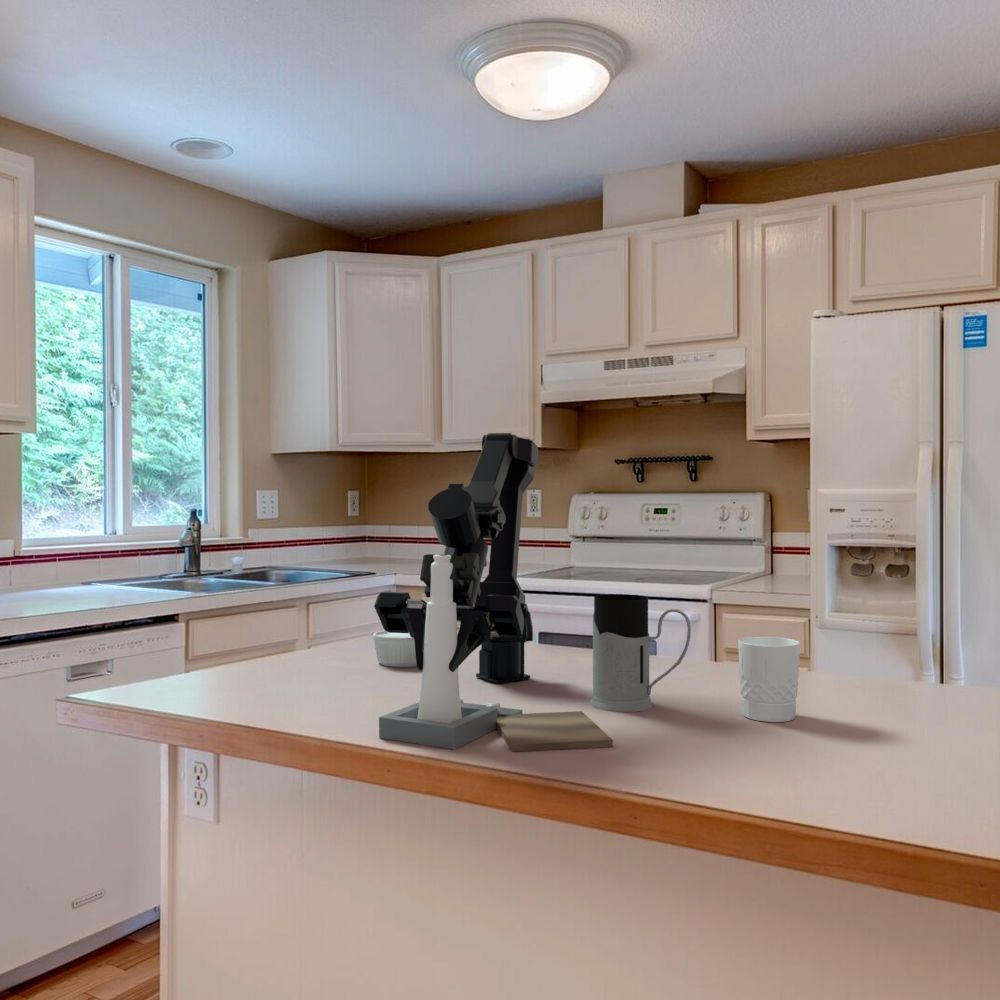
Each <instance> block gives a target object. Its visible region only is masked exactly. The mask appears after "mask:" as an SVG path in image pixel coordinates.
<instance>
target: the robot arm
mask: <svg viewBox="0 0 1000 1000" xmlns="http://www.w3.org/2000/svg"><path fill="white" fill-rule="evenodd" d="M481 439H482V440H481V451H480V453H479V456H478V459H477V461H476V465H475V467H474V470H473V473H472V475H471V478H470V481H469V483H468V485H467V486H465V485H464V483H448V487H447V489H444V490H441V491H439V492H438V493H436V494H435V495H434V496H433V497H432V498H431V499H430V500H429V501H428V505H427V508H428V511H429V515H430V518H431V521H432V524H433V528H434V530H435V533H436V537H437V539H438V542H439V544H440V545H442V546H444V547H445V548H444V552H443V554H445V555H443V554H442V553H441V554H435V553H432V554H431V553H427V554H423V555H422V563H421V569H420V575H419V576H420V577H419V581H421V582H423V583H424V584H425V588H424V594H425V597H426V598H430V592H431V564H432V563H433V562H434V559H433V555H440V556H446V555H451V559H450V563H452V564H453V569H452V573H451V576H450V578H449V579H452V580H453V602H455V603H456V614H457V623H460V624H459V630H458V631H457V646H456V650H455V653H454V655H453V658H452V660H451V661H450V663H449V670H450V671H452V672H454V671H455V670H456V669H457V668H458V669H459V667H460V666H461V664H462V663H463V662H465V660H466V659H467V658H468V657H469V656H470V655H471V654H472V653H473V652H474V651H475V650H477V648H479V647H480V646H481V647H480V648H481V649H479V651H478V653H479V654H478V656H479V657H478V662H479V666H478V672H477V673H475V677H476V678H479V679H483V680H486V681H489V682H492V683H496V684H503V683H509V682H517V681H520V680H521V681H523V680H529V679H531V675H530V674H527V673H525V643H527V642H532V641H534V627H533V622H532V615H531V612H530V610H529V608H528V604H527V603H526V595H525V594H524V591H523V589H522V587H521V585H520V584H519V582H518V579H517V578H518V565H519V563H518V562H519V550H520V540H521V539H520V535H521V524H522V523H521V521H522V509H523V508H522V507H523V496H524V492H525V491H526V490H527V488H529V486H530V484H531V483H532V482H533V480H534V478H535V467H538V463H539V449H538V446H537V444H536V443H535V442H534V441H533V440H531V438H523V437H519V436H517V435H516V434H513V433H512V432H494V433H493V432H492V433H490V432H489V433H487V434H484V435H483V436H482V438H481ZM486 540H491V541H490V553H489V562H488V561H487V556H488V552H489V545H488V543H487V541H486ZM488 563H489V564H488ZM487 564H488V565H489V566H488V574H487V576H486V577H485V579H484V580H483V581H482V576H483V573H484V569H485V568H484V567H487ZM427 603H428V602H427V601H425V599H422V598H421V599H419V598H412V597H411V595H410V593H409V591H408V592H407V591H382V592H380V593H379V594H378V595H377V596H376V600H375V602H374V606H373V607H374V609H375V612H376V614H377V616H378V619H379V621H380V623H381V625H382V628H383V631H387V632H389V633H409V634H410V636H411V637H412V638H414V642H415V653H416V664H417V666H416V667H417V670H418V671H423V655H424V638H425V623H426V609H427Z"/></svg>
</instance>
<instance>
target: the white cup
mask: <svg viewBox="0 0 1000 1000" xmlns="http://www.w3.org/2000/svg"><path fill="white" fill-rule="evenodd" d="M737 642H738V643H737V645H738V646H737V647H738V648H737V649H738V666H739V667H738V668H739V669H738V671H739V686H740V696H741V703H742V704H741V705H742V706H741V708H742V712H741V713H742V715H743V717H745V718H747V719H750V720H753V721H758V722H764V723H765V722H767V723H785V722H791V721H793V720H794V719H795V718H796V714H797V712H796V711H797V697H798V690H799V688H798V686H799V676H800V674H799V673H800V656H801V655H800V653H801V642H800V641H799V640H796V639H792V638H787V637H779V636H778V637H776V636H763V635H762V636H747V637H741V638H739V639H738V640H737Z"/></svg>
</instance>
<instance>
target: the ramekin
mask: <svg viewBox="0 0 1000 1000" xmlns="http://www.w3.org/2000/svg"><path fill="white" fill-rule="evenodd" d="M372 636H373V637H372V638H373V639H372V640H373V641H374V646H375V647H374V648H375V653H376V654H375V655H376V658H377V662H379V664H380V665H382V666H385V667H392V668H413V667H417V664H416V653H415V642H414V638H412V637H411V636H410V634H409V633H389V632H387V631H385V630H380V631H376V632H374V633H373V635H372Z"/></svg>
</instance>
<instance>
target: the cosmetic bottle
mask: <svg viewBox="0 0 1000 1000" xmlns="http://www.w3.org/2000/svg"><path fill="white" fill-rule="evenodd" d="M443 555H445V554H444V553H443ZM433 559H434V562H433V563H432V564H431V592H430V597H429V599H430V601H427V602H426V603H427V609H426V623H425V638H424V655H423V668H422V670H421V671H422V672H421V673H422V675H421V687H420V697H419V702H420V703H419V711H418V717H417V719H422V720H429V721H436V722H443V723H452V722H454V721H456V720H459V719H461V718H462V715H461V706H460V699H461V696H460V682H459V681H460V680H459V667H458V668H457V669H456V670H455V671H454V672H452V671H450V670H449V663H450V661H451V660H452V658H453V655H454V653H455V650H456V646H457V635H458V622H457V614H456V603H455V602H453V580H452V579H449V578H450V576H451V573H452V569H453V564H452V563H450V559H451V555H446V556H440V555H433Z"/></svg>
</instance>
